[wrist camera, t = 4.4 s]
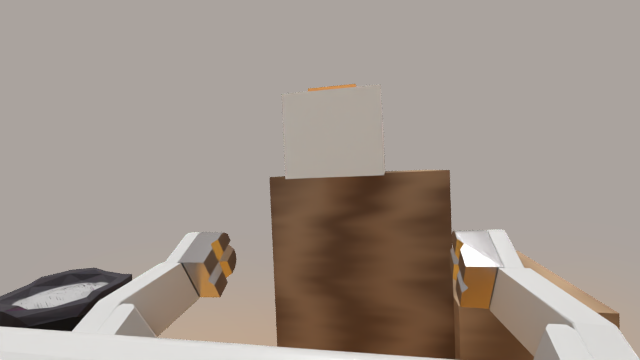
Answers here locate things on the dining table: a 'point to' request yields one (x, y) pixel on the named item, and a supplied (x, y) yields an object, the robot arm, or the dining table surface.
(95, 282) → the portable speaker
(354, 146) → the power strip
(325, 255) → the stand
